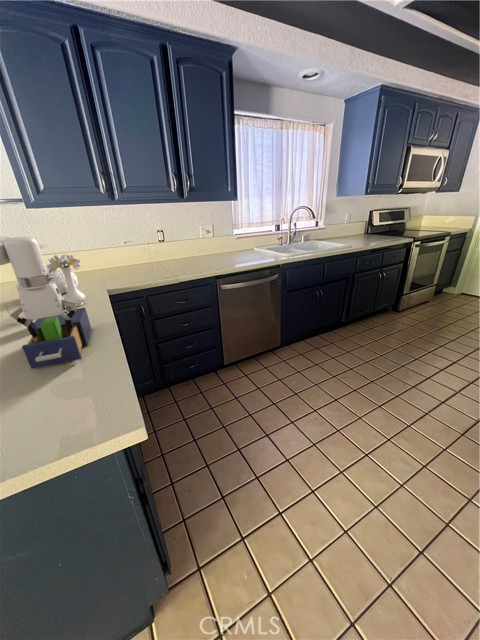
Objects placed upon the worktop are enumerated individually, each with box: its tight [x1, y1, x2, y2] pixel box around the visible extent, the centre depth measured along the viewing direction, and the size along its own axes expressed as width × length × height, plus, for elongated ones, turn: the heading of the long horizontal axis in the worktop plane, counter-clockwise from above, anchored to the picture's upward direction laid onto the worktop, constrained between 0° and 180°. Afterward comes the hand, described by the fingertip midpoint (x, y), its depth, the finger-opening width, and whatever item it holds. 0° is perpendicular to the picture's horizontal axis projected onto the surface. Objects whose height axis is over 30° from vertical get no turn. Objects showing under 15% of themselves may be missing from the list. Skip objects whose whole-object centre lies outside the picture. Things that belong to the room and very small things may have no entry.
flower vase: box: [45, 254, 87, 307], centre depth 129 cm, size 13×18×25 cm
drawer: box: [21, 324, 83, 370], centre depth 84 cm, size 18×13×8 cm
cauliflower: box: [46, 267, 79, 295], centre depth 151 cm, size 20×18×16 cm
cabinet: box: [35, 307, 93, 348], centre depth 96 cm, size 15×15×10 cm
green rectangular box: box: [40, 317, 64, 341], centre depth 85 cm, size 4×6×11 cm, turn 22°
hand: (53, 332), depth 84 cm, fingers open, 9 cm apart
